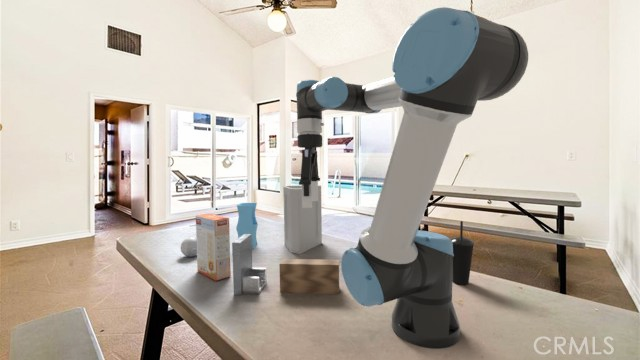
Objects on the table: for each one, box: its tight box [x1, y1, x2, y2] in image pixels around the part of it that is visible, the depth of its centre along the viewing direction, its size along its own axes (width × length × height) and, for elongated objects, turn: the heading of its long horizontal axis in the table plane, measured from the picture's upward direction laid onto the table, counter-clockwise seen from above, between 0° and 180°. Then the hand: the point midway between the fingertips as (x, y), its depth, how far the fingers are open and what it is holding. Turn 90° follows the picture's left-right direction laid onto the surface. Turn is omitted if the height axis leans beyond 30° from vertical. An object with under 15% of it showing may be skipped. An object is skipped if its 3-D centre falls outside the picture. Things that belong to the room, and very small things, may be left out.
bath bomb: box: [180, 237, 197, 258], centre depth 124 cm, size 8×8×8 cm
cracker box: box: [195, 213, 232, 282], centre depth 103 cm, size 14×6×21 cm, turn 47°
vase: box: [236, 202, 259, 249], centre depth 137 cm, size 8×8×20 cm
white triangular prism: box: [282, 184, 323, 255], centre depth 136 cm, size 19×15×28 cm
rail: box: [279, 258, 340, 295], centre depth 90 cm, size 18×4×9 cm, turn 85°
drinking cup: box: [449, 220, 476, 286], centre depth 94 cm, size 8×8×20 cm
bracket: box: [231, 234, 268, 296], centre depth 91 cm, size 10×7×16 cm
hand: (310, 204), depth 89 cm, fingers open, 13 cm apart
